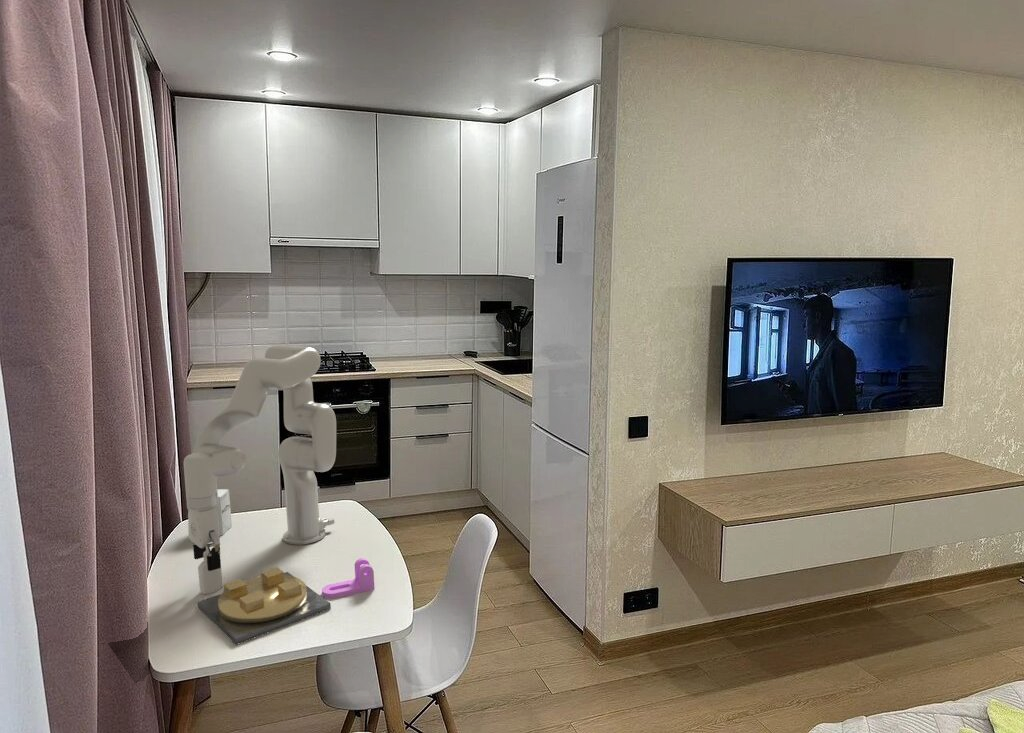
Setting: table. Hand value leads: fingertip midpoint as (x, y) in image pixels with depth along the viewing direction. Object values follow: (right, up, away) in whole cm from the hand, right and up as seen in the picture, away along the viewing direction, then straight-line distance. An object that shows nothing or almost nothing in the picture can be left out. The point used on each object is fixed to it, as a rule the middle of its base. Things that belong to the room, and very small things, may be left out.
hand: (207, 563), depth 197 cm
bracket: (+36, -7, +1) cm, 37 cm away
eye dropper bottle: (0, -8, +2) cm, 8 cm away
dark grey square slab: (+17, -9, -8) cm, 21 cm away
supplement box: (-14, -1, +41) cm, 43 cm away
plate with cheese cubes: (+17, -7, -8) cm, 21 cm away
